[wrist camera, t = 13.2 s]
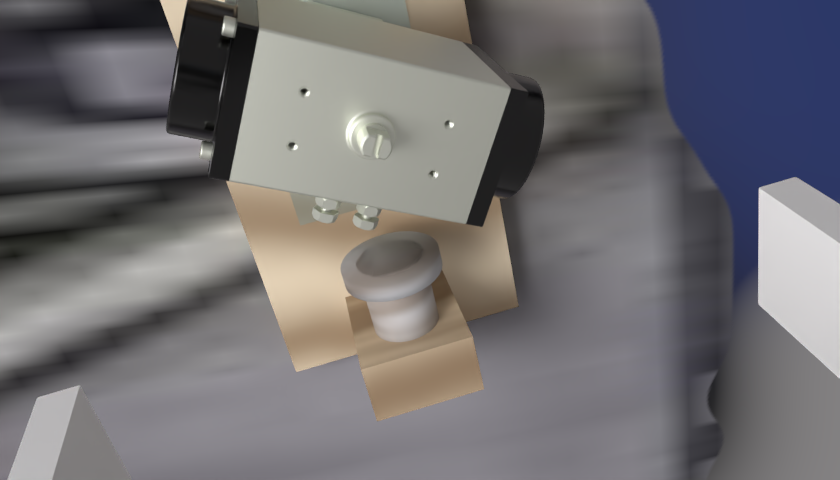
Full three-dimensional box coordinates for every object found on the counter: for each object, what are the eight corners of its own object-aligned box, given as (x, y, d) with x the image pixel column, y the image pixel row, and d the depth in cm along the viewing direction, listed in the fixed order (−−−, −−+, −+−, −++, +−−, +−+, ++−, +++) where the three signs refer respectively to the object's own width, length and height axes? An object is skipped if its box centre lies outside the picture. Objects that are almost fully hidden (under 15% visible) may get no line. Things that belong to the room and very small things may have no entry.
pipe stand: (47, -326, 27) (-15, -377, 20) (384, -400, 28) (428, -471, 21) (294, 355, 42) (304, 452, 35) (510, 291, 42) (558, 375, 36)
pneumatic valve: (201, -46, 30) (179, 17, 20) (479, 27, 34) (584, 113, 23) (179, 90, 33) (149, 211, 22) (442, 146, 36) (524, 273, 26)
